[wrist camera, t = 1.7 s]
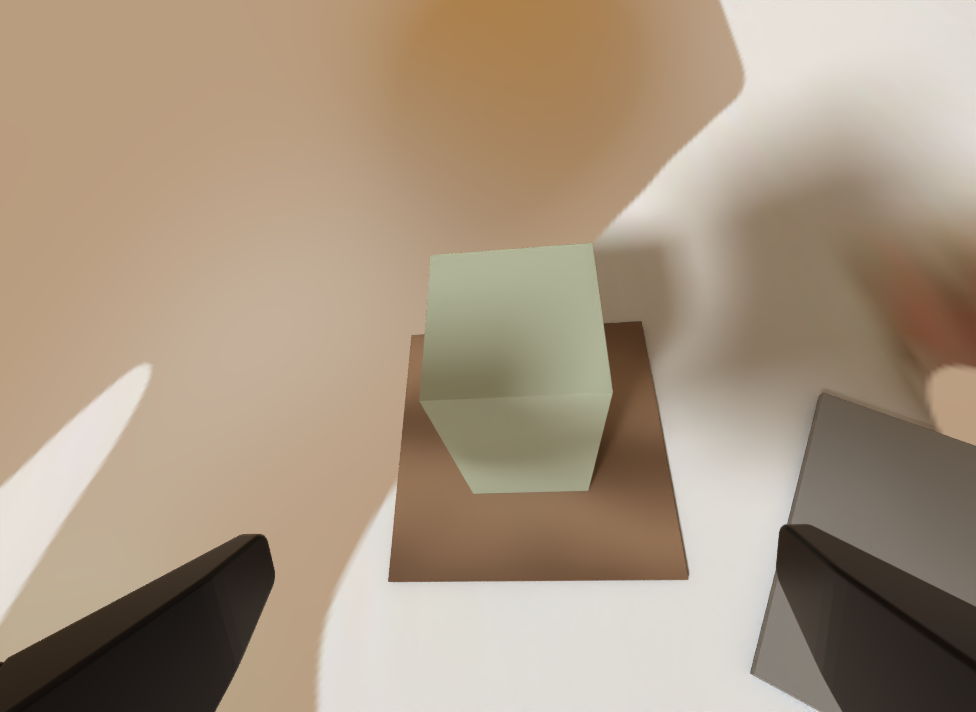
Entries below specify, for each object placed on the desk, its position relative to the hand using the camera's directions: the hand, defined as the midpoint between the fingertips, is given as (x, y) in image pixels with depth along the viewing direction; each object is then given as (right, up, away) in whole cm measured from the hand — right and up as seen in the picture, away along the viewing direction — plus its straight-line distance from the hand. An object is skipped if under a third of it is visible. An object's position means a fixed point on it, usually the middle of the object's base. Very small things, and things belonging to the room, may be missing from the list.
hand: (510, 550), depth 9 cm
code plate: (+1, 0, +14) cm, 14 cm away
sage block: (+1, 0, +14) cm, 14 cm away
